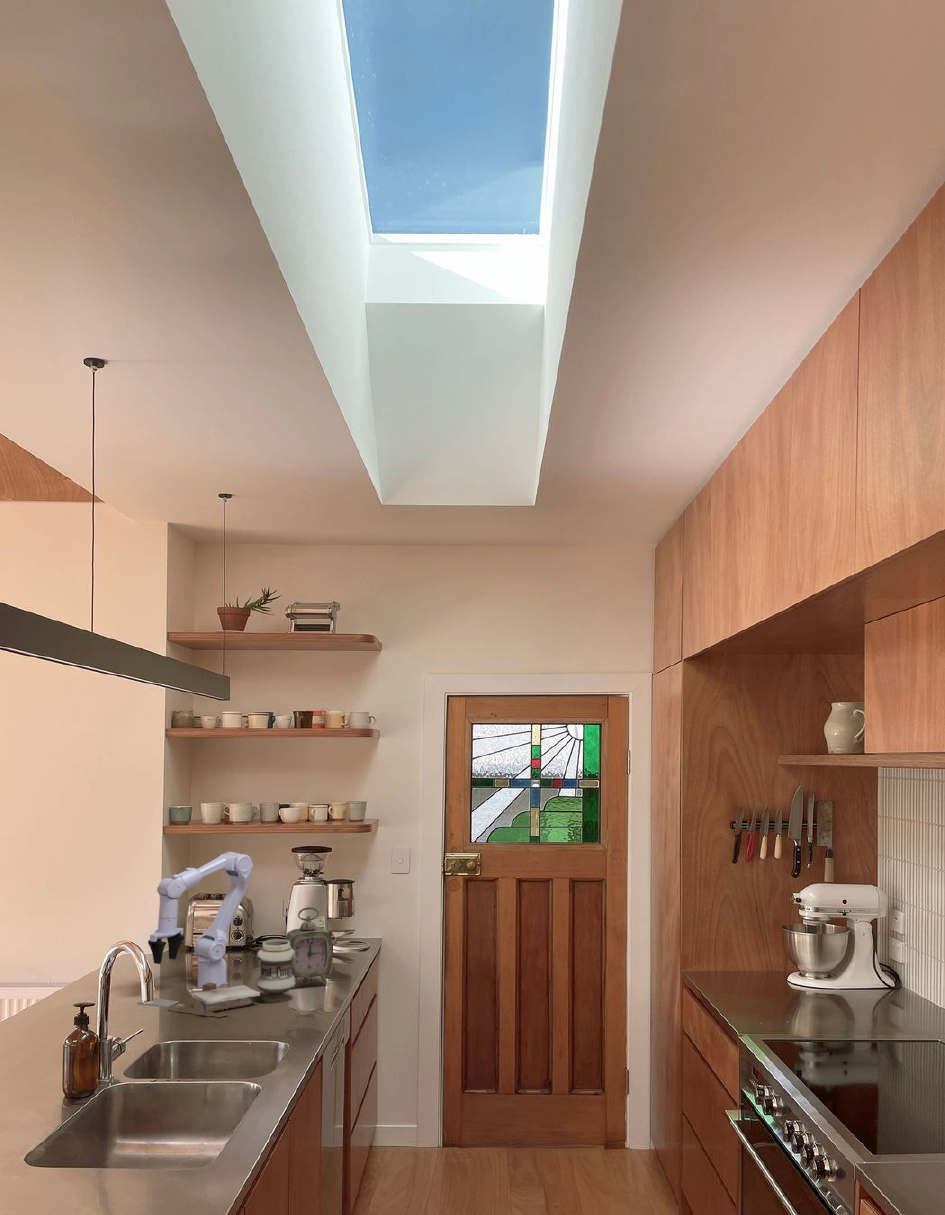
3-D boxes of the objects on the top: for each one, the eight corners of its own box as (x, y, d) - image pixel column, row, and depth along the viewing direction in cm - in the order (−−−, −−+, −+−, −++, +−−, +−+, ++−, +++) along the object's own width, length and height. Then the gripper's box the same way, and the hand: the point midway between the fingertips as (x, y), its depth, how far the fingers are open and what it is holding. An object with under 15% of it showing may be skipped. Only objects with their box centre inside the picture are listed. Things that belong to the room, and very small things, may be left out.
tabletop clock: (288, 990, 344) (290, 911, 346) (281, 983, 352) (283, 906, 354) (331, 985, 350) (333, 908, 352) (324, 979, 358) (325, 903, 360)
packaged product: (190, 1008, 322) (205, 1017, 314) (191, 992, 322) (206, 1000, 315) (243, 999, 333) (259, 1007, 326) (244, 983, 334) (260, 991, 326)
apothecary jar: (248, 1000, 332) (249, 941, 334) (279, 993, 341) (280, 935, 343) (271, 1009, 324) (273, 948, 326) (303, 1000, 333) (304, 941, 334)
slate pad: (149, 999, 333) (149, 997, 333) (179, 1003, 329) (179, 1001, 329) (137, 1004, 328) (137, 1002, 328) (167, 1008, 324) (167, 1006, 324)
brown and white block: (200, 1003, 330) (201, 985, 331) (209, 999, 334) (209, 982, 334) (224, 1006, 327) (225, 988, 327) (232, 1003, 330) (233, 985, 331)
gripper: (171, 912, 348) (168, 955, 347) (143, 919, 335) (139, 964, 333) (189, 914, 346) (186, 958, 344) (161, 921, 332) (158, 966, 331)
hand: (164, 961), depth 339 cm, fingers open, 7 cm apart
